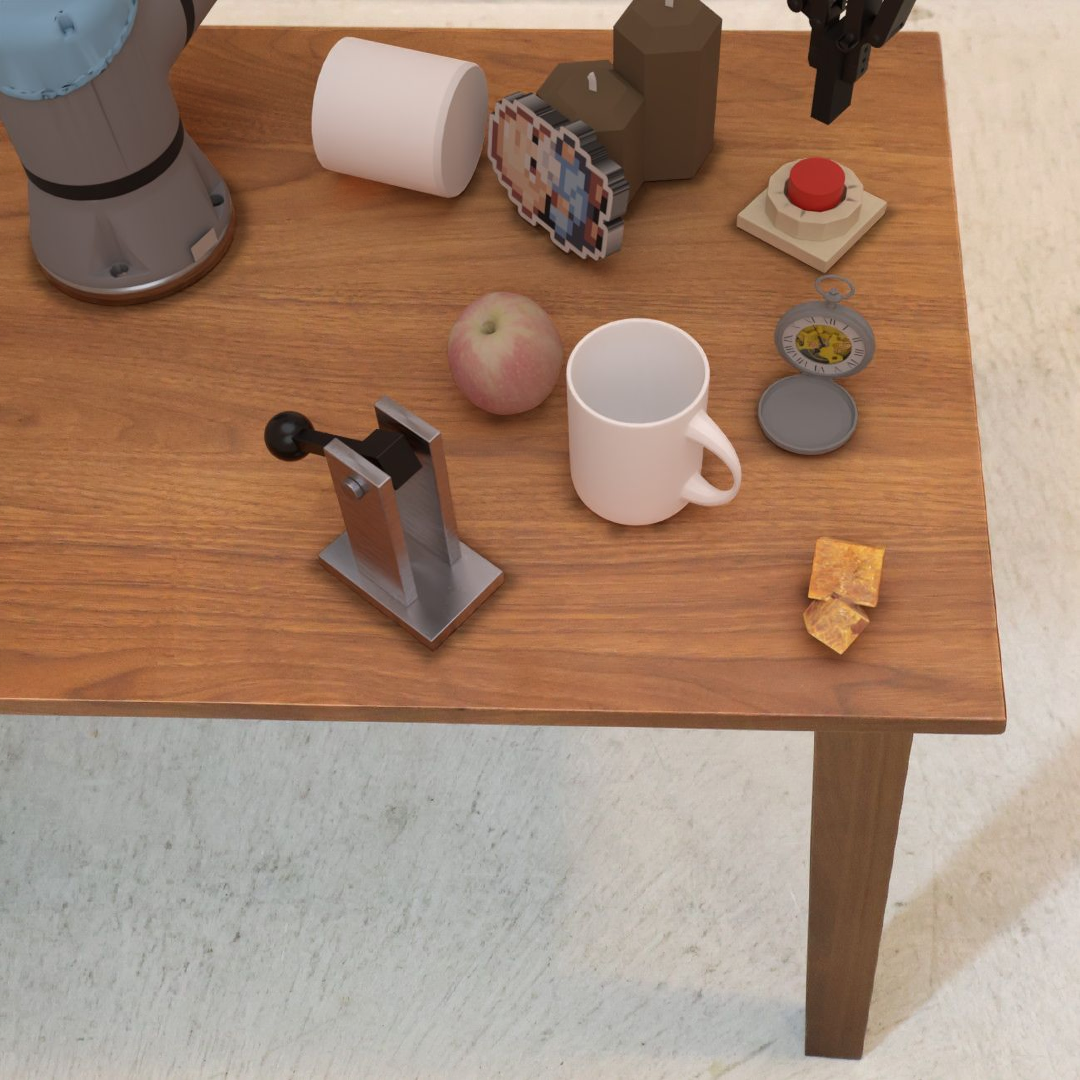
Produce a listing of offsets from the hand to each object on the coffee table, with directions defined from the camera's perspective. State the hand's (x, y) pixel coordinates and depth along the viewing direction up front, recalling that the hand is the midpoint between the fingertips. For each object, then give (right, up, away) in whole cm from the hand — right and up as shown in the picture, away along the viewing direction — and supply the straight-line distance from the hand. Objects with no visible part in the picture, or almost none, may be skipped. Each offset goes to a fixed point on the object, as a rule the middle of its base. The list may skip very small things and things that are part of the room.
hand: (830, 110), depth 97 cm
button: (0, -4, +6) cm, 8 cm away
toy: (-19, -6, +9) cm, 22 cm away
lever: (-32, -25, -13) cm, 43 cm away
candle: (-13, +1, +13) cm, 19 cm away
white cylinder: (-25, +1, +9) cm, 27 cm away
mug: (-12, -27, -5) cm, 30 cm away
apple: (-22, -20, 0) cm, 30 cm away
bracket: (-28, -32, -8) cm, 43 cm away
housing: (0, -6, +8) cm, 10 cm away
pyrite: (-2, -34, -10) cm, 35 cm away
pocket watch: (-2, -21, -2) cm, 21 cm away
